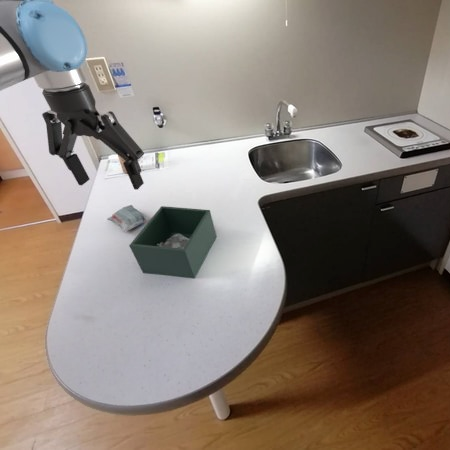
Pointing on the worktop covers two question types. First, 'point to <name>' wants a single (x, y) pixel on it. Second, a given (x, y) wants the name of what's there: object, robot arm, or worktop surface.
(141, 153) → the robot arm
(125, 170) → the brown tapered cone
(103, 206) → the worktop surface
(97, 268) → the worktop surface
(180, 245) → the egg carton
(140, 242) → the trash bin
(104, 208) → the worktop surface
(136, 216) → the packaged food
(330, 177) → the worktop surface
